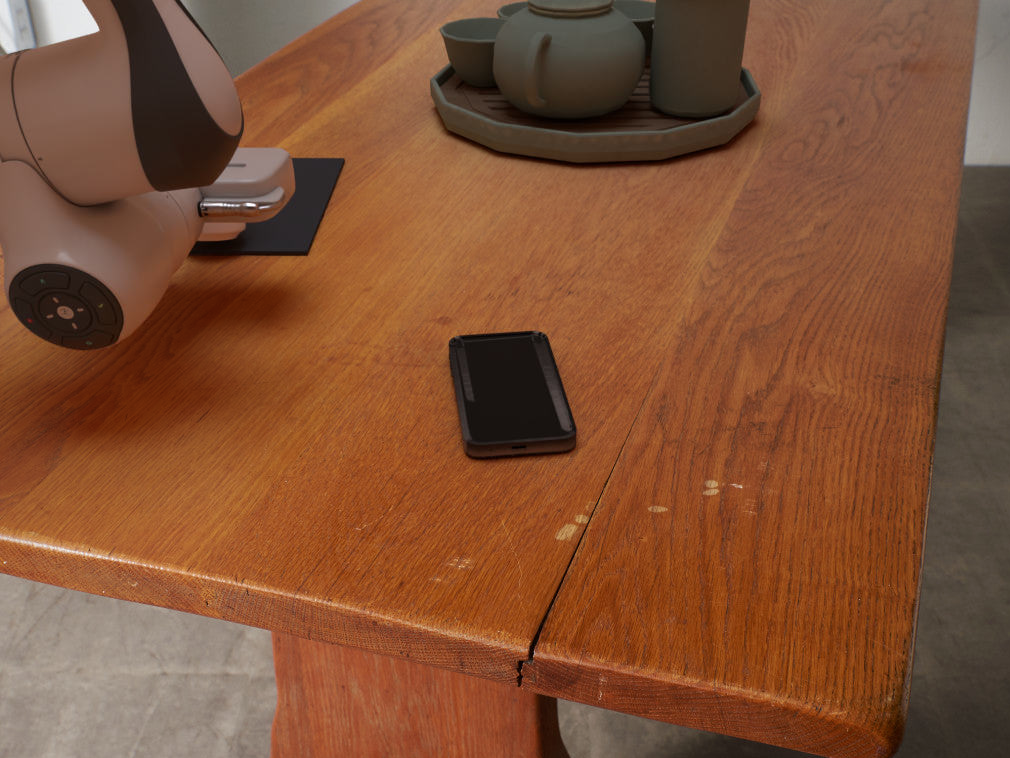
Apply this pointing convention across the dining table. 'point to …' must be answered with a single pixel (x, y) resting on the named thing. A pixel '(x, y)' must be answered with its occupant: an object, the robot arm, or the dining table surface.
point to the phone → (510, 395)
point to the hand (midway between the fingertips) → (189, 146)
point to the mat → (286, 215)
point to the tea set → (599, 78)
